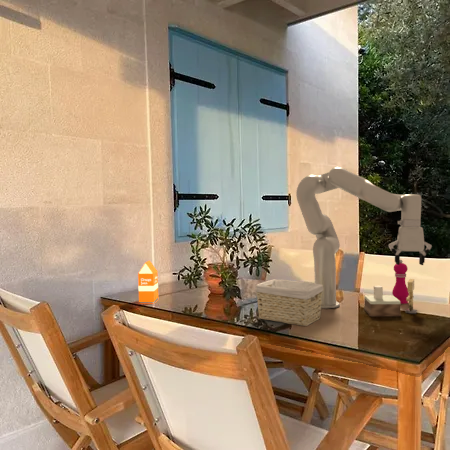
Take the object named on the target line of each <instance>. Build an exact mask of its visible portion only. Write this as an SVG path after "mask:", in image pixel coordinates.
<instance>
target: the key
mask: <svg viewBox="0 0 450 450" xmlns="http://www.w3.org/2000/svg"><path fill="white" fill-rule="evenodd" d="M407 288H408V292H409V295H408V297H407V299H406V301H408V309H409V310H413V309H414V290H415V279H414V278H410V279H409V280H408V281H407Z"/></svg>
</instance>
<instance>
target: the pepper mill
mask: <svg viewBox="0 0 450 450" xmlns="http://www.w3.org/2000/svg"><path fill="white" fill-rule="evenodd" d="M403 262H404V261H403V260H402V259H400V264H399V265H397V264H396V263H395V264H394V266H393V271H394V272H395V273H394V278H395V284H394V286H393V288H392V291H391V294H392V295H393V296H394V297H396V298H397V299H398V300H399V301H400V305H406V304H409V301H406V299H407V297H408V295H409V292H408V285H407V283H406V278H407V272H408V266H407V264H406V263H403Z"/></svg>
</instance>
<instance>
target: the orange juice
mask: <svg viewBox="0 0 450 450" xmlns="http://www.w3.org/2000/svg"><path fill="white" fill-rule="evenodd" d="M158 273H159V272H158V269H156V267H155V266H154V264H153V263H152V262H151V260H148V261H145V262H144V263H143V266H142V267H141V269H140V270H139V272H138V273H137V278H138V279H137V281H138V283H137V284H138V285H137V287H138V303H139V302H154V301H155V300H156V299H157V298H158V299H159V277H158Z"/></svg>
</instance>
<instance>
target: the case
mask: <svg viewBox="0 0 450 450" xmlns="http://www.w3.org/2000/svg"><path fill="white" fill-rule="evenodd" d="M363 301H364V304H363V305H364V307H363V310H364V311H365V312H366V313H367V315H369V317H402V314H401V304H370V303H369V302H368V301H367V300H366V299H365V298H364V300H363Z"/></svg>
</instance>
